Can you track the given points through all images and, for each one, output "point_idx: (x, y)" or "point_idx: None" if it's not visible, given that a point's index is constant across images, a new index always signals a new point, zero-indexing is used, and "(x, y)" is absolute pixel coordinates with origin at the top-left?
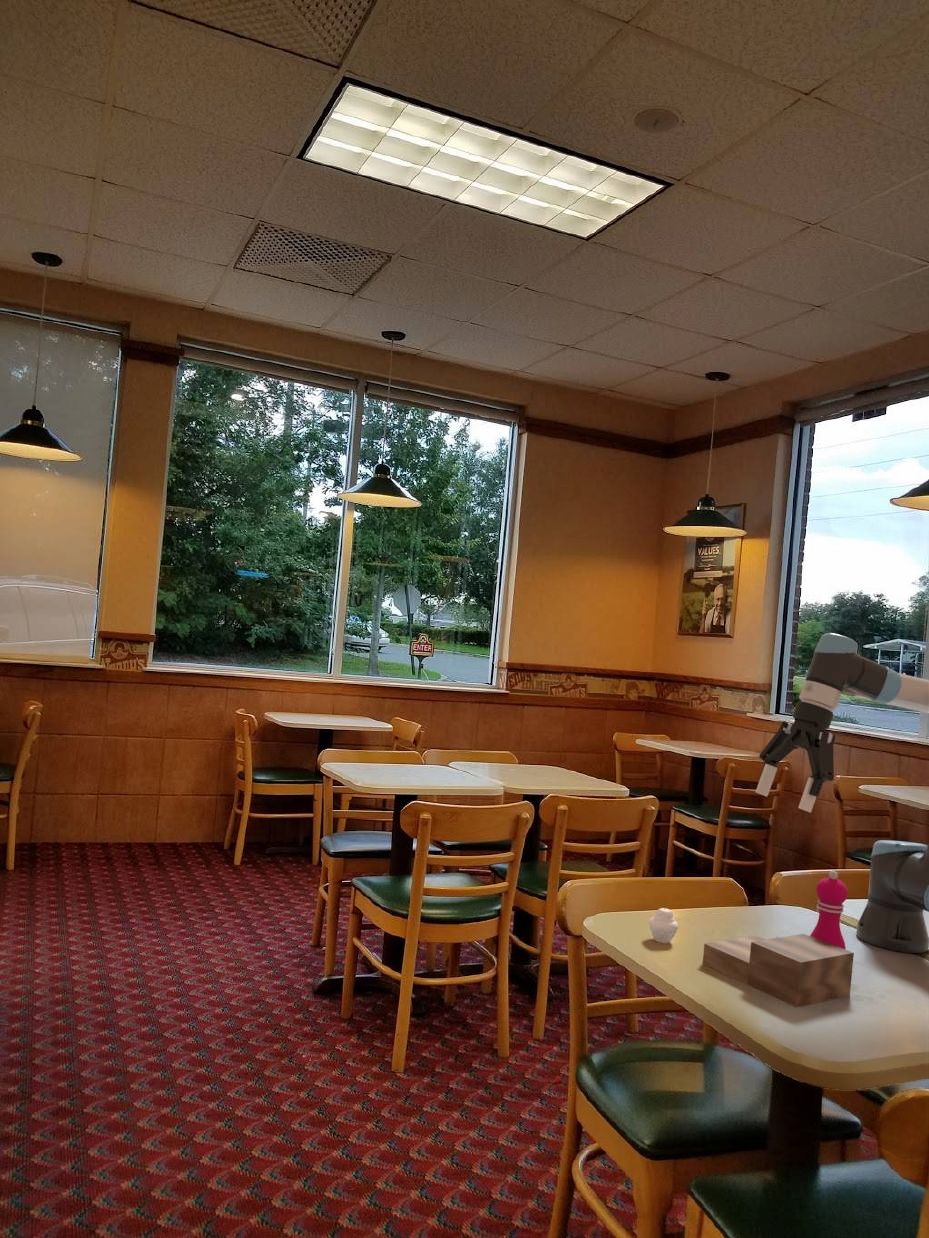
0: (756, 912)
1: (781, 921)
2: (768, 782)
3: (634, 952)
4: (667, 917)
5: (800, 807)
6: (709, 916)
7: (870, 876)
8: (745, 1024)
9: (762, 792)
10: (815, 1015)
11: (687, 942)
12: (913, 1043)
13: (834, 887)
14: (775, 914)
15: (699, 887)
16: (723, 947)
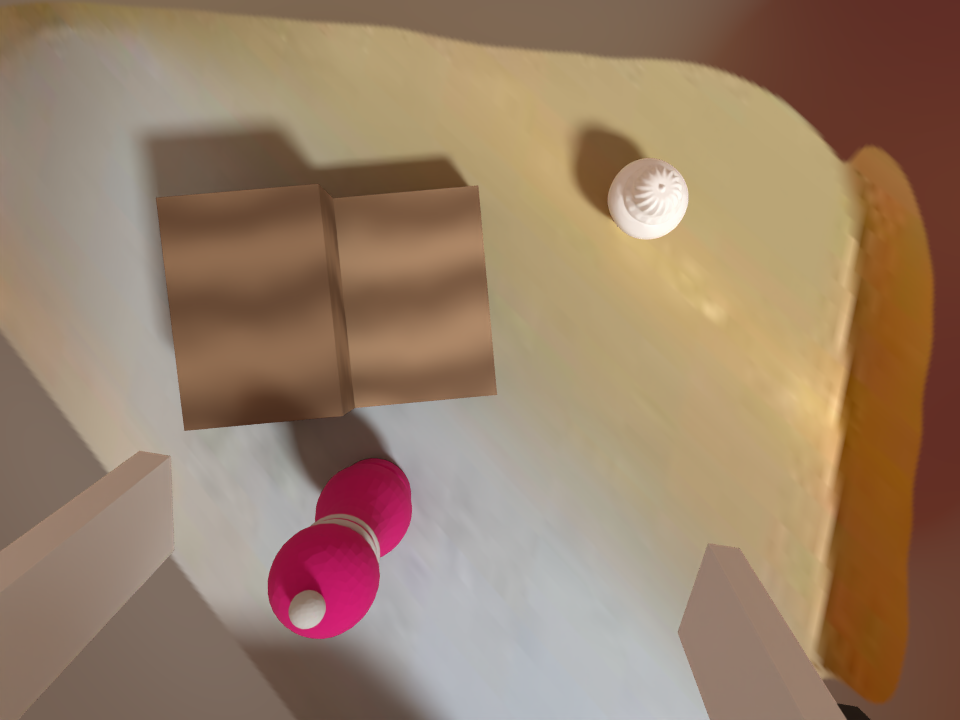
0: None
1: (681, 682)
2: (735, 713)
3: (581, 72)
4: (634, 183)
5: (141, 458)
6: (762, 496)
7: None
8: (170, 25)
9: (700, 595)
10: None
11: (607, 271)
12: (7, 324)
13: (281, 560)
14: None
15: None
16: (441, 217)
